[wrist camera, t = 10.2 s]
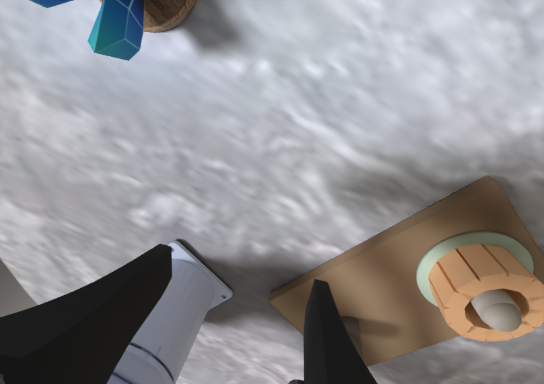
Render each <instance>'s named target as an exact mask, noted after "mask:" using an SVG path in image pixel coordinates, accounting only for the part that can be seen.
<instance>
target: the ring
mask: <svg viewBox="0 0 544 384" xmlns="http://www.w3.org/2000/svg"><path fill="white" fill-rule="evenodd" d="M438 261H439V262H437V261H436V262H435V264H434V265H433V267H432V269H431V271H430V273H429V274H428V276H429V277H428V281H429V286H430V290H431V292H432V295H433V297H434V299H435V301H436V303H437V305H438V307H439V309H440V311H441V313H442V315H443V317H444V319H445V321H446V323H447V324H448V326H450V327H451V328H452V329H453V330H455V331H456V332H457V333H458V334H460V335H461V336H462V335H463V336H464V337H467V338H471V339H475V340H479V341H485V340H487V342H491V341H502V340H511V336H512V337H513V338H514V339H515V338H518V337H520V336H522V335H524V334H527V333H529V332H531V331H534V330H536V329H535V328H534V327H537V328H539V327H540V326H541V324H542V323H543V322H544V285H543V284H542V283H541V282H540V281H539V280H538V279H537V278H536V277H535V276H534V275H533V274H532V273H531V272H530V271H529V270H528V269H527V268H526V267H525V266H524V265H523V264H522V263H521V262H520V261H519V260H518V259H517V258H516V257H515V256H513V255H512V254H511V253H510V252H509V251H508V250H507V249H505V248H503V247H498V246H493V245H488V244H484V243H483V244H482V245H481V244H480V243H479V244H474V245H468V246H463V247H458V251H457V250H456V249H453V250H452V251H450V252H449V253H447V254H445V255H444V256H442V257H441V258H439V259H438ZM502 288H503V289H504V290H505V291H506V292H507V293H508V295H509V296H510V297H511V298H512V299H513V301H514V302H515V303H516V304H517V305H518V307H519V308H520V310H521V316H522V322H521V325H520V326H519V328H518V329H516V330H514V331H511V332H502V331H498V330H496V329H494V328H492V327H490V326H489V325H488V324H486V323H484V322H483V321H482V319H481V318H480V316H479V315H478V313H477V312H476V310H475V308H474V307H473V305H472V304H471V302H470V300H471V298H473V297H475V296H477V295H479V294H481V293H483V292H484V291H488V290H495V289H502Z"/></svg>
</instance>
